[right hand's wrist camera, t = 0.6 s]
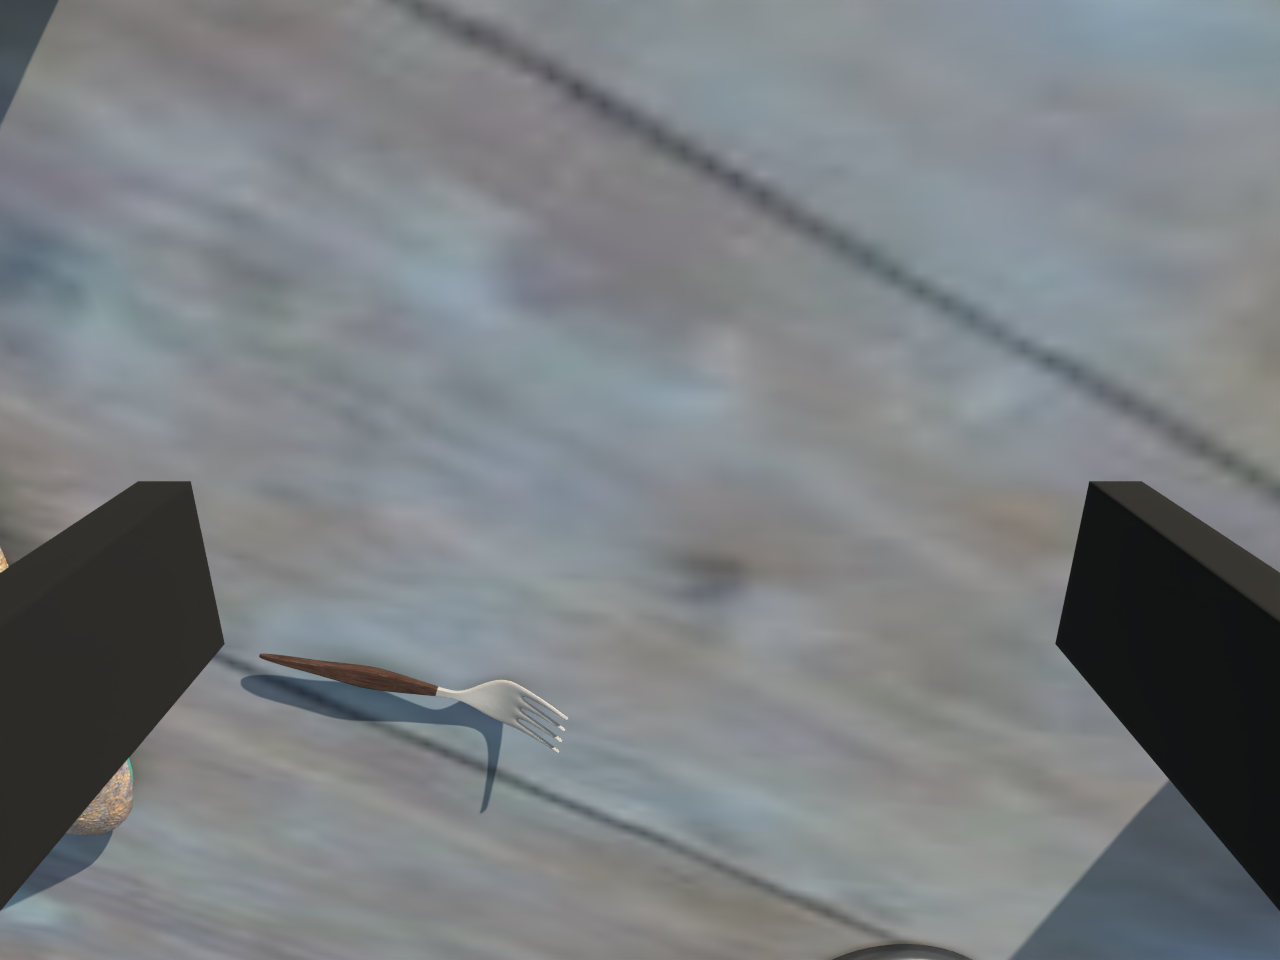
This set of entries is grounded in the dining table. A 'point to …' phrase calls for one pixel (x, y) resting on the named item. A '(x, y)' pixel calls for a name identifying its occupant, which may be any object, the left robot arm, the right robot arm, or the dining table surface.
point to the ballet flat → (103, 794)
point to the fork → (436, 691)
